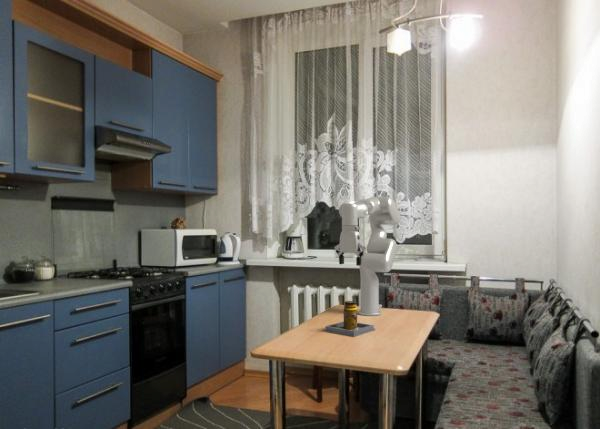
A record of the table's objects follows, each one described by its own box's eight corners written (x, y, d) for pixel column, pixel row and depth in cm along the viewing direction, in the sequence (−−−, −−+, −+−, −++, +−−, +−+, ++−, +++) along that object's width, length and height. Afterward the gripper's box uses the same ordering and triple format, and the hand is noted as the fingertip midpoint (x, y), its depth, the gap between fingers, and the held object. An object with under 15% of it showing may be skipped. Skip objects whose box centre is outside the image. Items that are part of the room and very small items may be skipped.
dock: (345, 324, 232) (345, 320, 232) (375, 329, 221) (375, 325, 221) (323, 331, 218) (323, 326, 218) (354, 336, 208) (354, 331, 208)
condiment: (359, 330, 218) (359, 302, 218) (340, 330, 216) (341, 303, 216) (355, 326, 225) (355, 300, 225) (337, 327, 224) (337, 300, 224)
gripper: (369, 229, 235) (369, 265, 235) (339, 228, 246) (339, 262, 246) (361, 229, 229) (361, 266, 229) (330, 229, 240) (330, 264, 240)
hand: (350, 264), depth 238 cm, fingers open, 9 cm apart
